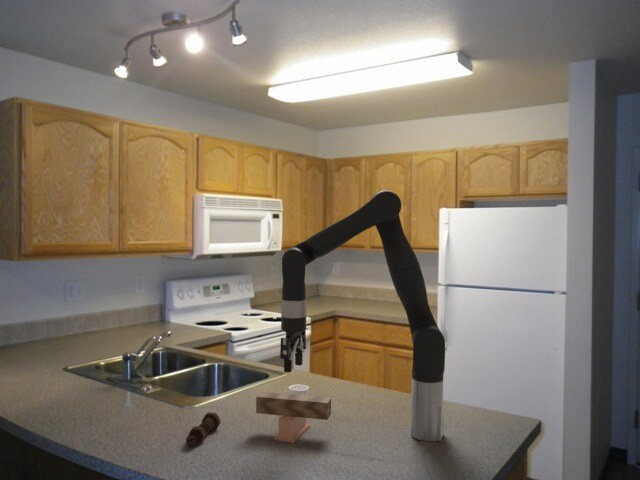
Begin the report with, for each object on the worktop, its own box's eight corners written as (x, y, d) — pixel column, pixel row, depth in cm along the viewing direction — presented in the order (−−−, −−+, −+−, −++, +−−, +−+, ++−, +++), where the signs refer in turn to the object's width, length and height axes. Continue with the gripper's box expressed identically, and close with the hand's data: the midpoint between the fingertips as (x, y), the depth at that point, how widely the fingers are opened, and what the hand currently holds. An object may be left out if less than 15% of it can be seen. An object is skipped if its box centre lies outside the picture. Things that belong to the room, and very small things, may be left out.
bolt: (188, 454, 148) (210, 432, 163) (202, 447, 147) (223, 425, 162) (178, 435, 149) (201, 415, 163) (192, 428, 148) (214, 408, 162)
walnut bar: (331, 414, 159) (331, 397, 159) (327, 420, 154) (327, 403, 154) (261, 407, 164) (261, 391, 164) (256, 413, 159) (256, 396, 159)
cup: (299, 416, 174) (299, 391, 174) (277, 409, 180) (277, 385, 180) (313, 410, 179) (313, 387, 179) (291, 404, 185) (291, 381, 185)
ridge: (309, 427, 164) (310, 407, 164) (293, 443, 152) (293, 422, 152) (291, 424, 167) (292, 405, 166) (274, 440, 154) (274, 419, 154)
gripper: (296, 319, 150) (296, 376, 151) (313, 311, 164) (313, 363, 164) (272, 317, 153) (272, 373, 153) (291, 310, 166) (291, 361, 167)
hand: (293, 368), depth 159 cm, fingers open, 8 cm apart
